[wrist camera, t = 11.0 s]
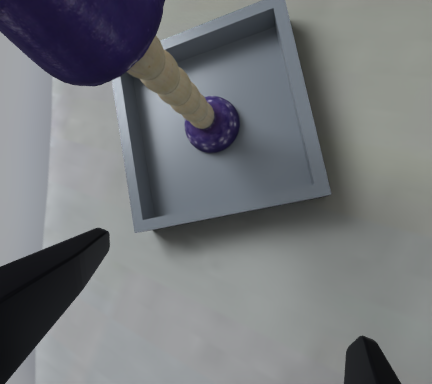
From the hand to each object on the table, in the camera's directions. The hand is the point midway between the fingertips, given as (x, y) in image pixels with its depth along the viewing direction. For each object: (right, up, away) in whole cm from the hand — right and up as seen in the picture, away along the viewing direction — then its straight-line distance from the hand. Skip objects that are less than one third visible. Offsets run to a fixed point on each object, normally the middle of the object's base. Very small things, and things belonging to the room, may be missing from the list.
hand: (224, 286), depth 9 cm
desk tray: (0, +8, +12) cm, 14 cm away
